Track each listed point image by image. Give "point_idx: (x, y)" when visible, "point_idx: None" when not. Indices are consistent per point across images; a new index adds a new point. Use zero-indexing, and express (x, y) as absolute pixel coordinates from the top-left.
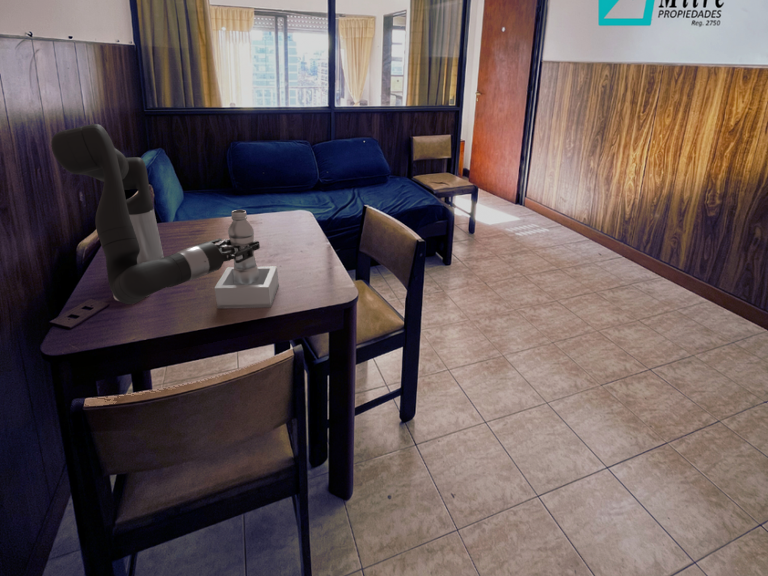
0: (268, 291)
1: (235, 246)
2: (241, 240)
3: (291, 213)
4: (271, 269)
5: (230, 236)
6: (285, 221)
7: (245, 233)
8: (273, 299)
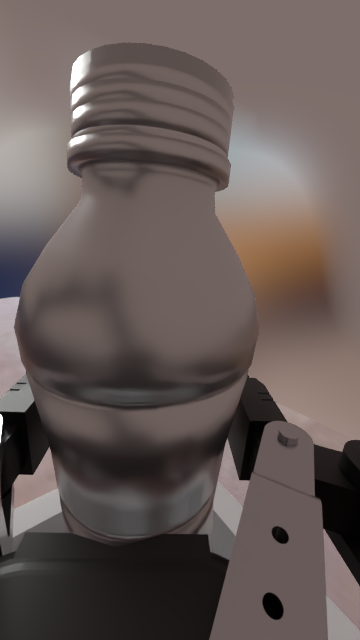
0: None
1: (323, 561)
2: (227, 403)
3: (7, 300)
4: None
5: (98, 391)
6: (7, 311)
7: (257, 323)
8: None
